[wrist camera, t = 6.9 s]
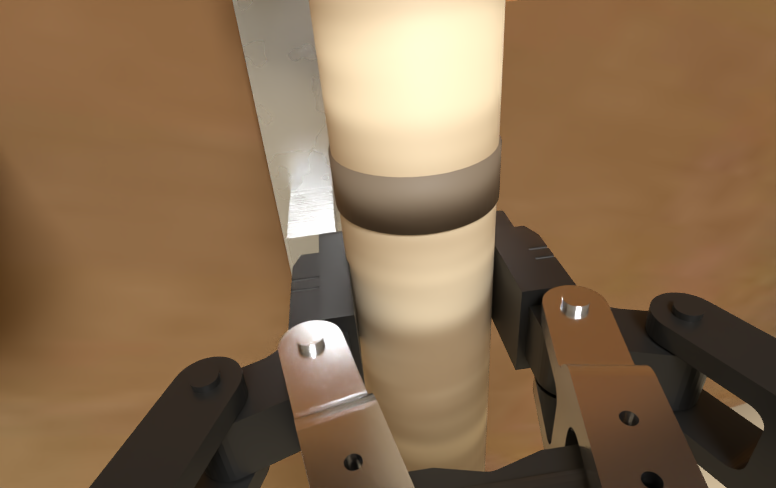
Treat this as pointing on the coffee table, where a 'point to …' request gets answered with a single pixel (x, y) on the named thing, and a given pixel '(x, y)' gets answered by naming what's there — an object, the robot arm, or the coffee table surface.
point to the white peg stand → (290, 117)
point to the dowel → (418, 206)
